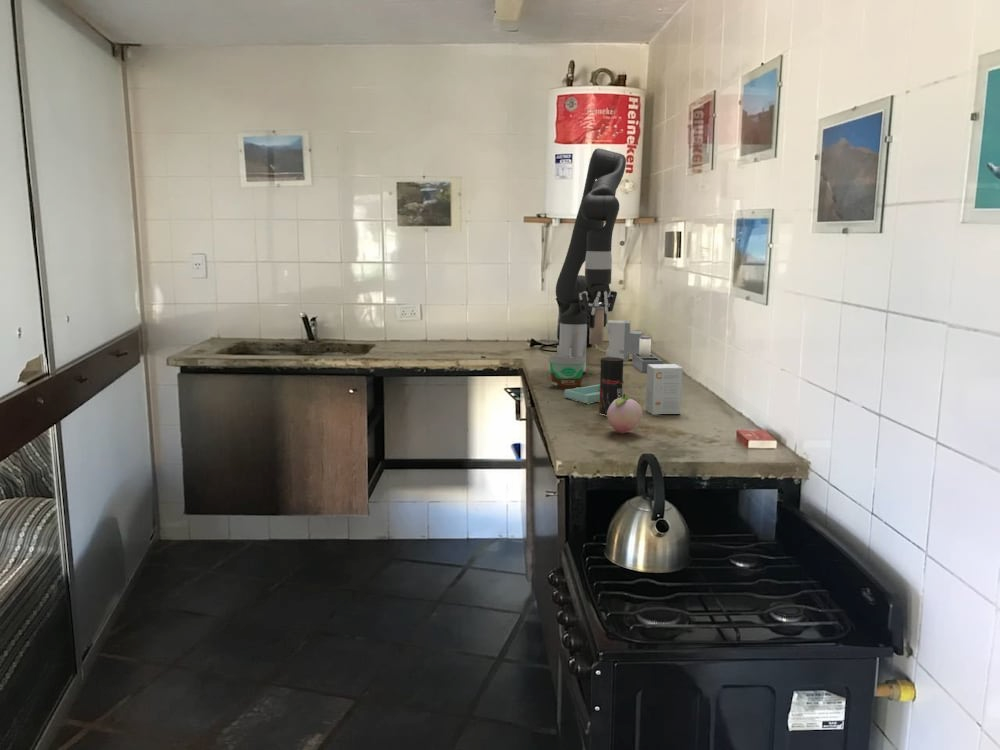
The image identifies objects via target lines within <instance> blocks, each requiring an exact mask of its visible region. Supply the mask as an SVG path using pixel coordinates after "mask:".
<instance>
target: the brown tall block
mask: <svg viewBox="0 0 1000 750" xmlns="http://www.w3.org/2000/svg"><path fill="white" fill-rule="evenodd" d="M590 310H591V309H590ZM594 315H595V317H594V328H589V335H588V338H589V342H588V344H590V345H595V346H596V345H597V346H598V345H600V346H601V345H603V344H604V333H605V332H604V329H605V327H604V306H598V305H597V307H596V308H595V313H594Z"/></svg>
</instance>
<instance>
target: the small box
mask: <svg viewBox="0 0 1000 750" xmlns="http://www.w3.org/2000/svg"><path fill="white" fill-rule="evenodd" d="M683 369H684V367H682V366H681V365H678V364H676V363H663V364H648V365H647V373H646V391H645V394H646V397H645V411H646V410H647V411H649V412H650V413H651V414H680V415H681V413H682V412H681V411H682V410H681V406H682V394H683V393H682V390H683V389H682V387H683V372H684V371H683ZM647 411H646V412H647ZM649 412H648V413H649ZM650 413H649V414H650ZM651 414H650V415H651Z"/></svg>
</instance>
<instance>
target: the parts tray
mask: <svg viewBox="0 0 1000 750" xmlns="http://www.w3.org/2000/svg"><path fill="white" fill-rule="evenodd" d="M623 395H624V390H623V389H622V397H623ZM564 397H565V398H564V399H566V398H569V399H574V400H578V401H582V402H586V403H590V402H599V401H600V384H594V385H589V386H581V387H580V388H574V389H564ZM569 399H568V400H569Z"/></svg>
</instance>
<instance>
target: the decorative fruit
mask: <svg viewBox="0 0 1000 750" xmlns="http://www.w3.org/2000/svg"><path fill="white" fill-rule="evenodd" d="M606 417H607V421H608V423H609V424H610V426H611V427H612V428H613V429H614V430H615V431H616V432H617V433H620V434H621V433H624V434H625V433H627V432H630V431H631V430H633V429H634V428H636V427H637V426H638V425H639V424H640V423H641V420H642V417H643V411H642V407H641V405H640V404H639V403H638V402H637V401H636V400H634V399H633V398H632V397H631V396H626V394H625V393H623V397H621V398H618V399H616V400H614V401H613V402H612V403H611V405H610V406H609V408H608V411H607V416H606Z"/></svg>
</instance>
